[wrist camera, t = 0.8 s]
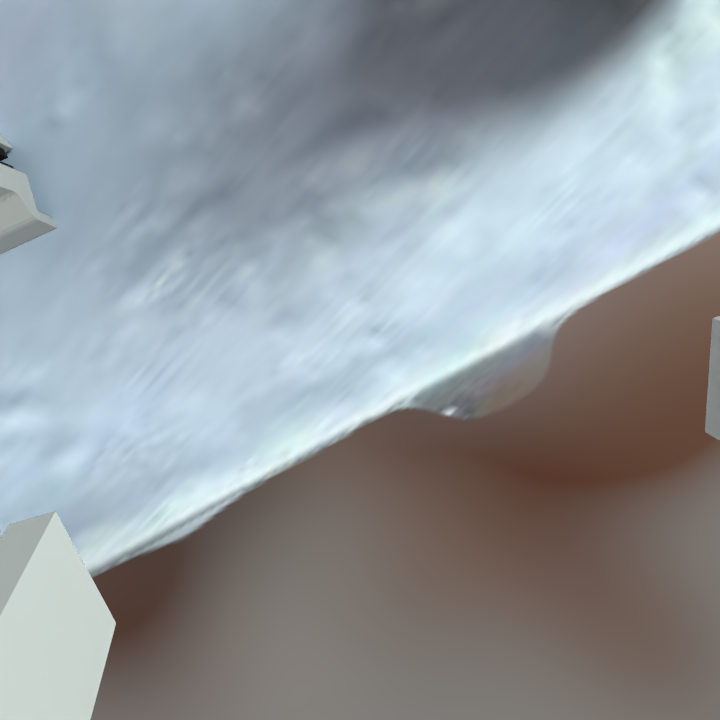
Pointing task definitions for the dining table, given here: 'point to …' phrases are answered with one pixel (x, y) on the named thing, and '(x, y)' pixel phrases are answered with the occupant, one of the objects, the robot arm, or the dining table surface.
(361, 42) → the dining table surface
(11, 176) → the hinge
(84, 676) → the robot arm
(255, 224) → the dining table surface
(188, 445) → the dining table surface
